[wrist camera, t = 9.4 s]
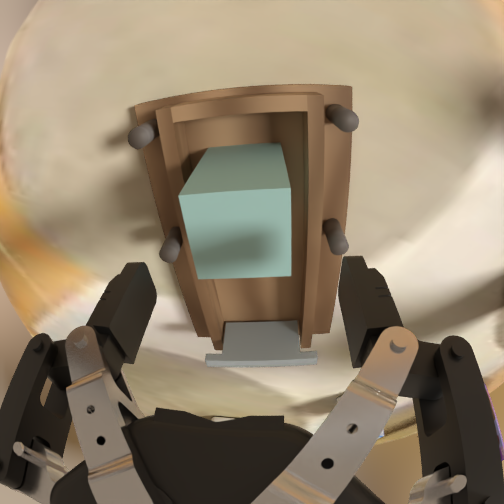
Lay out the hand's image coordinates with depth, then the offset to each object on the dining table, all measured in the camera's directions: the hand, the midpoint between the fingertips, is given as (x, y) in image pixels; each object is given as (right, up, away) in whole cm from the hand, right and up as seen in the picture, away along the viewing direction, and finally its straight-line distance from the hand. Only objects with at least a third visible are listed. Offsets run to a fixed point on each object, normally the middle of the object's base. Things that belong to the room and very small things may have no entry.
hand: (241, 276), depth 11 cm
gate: (+1, -7, +18) cm, 19 cm away
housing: (+1, +1, +14) cm, 14 cm away
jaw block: (0, +6, +9) cm, 11 cm away
